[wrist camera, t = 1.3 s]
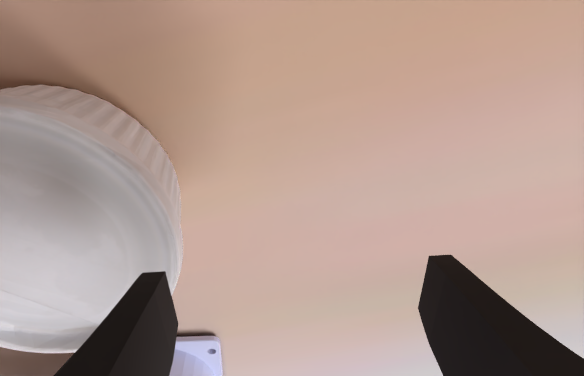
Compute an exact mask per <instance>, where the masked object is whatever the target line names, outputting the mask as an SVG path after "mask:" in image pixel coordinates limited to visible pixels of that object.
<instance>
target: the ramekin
mask: <svg viewBox="0 0 584 376" xmlns="http://www.w3.org/2000/svg"><path fill="white" fill-rule="evenodd" d="M180 222H181V199H180V188H179V184H178V178H177V175H176V173H175V171H174V167H173V164H172V163H171V161H170V159H169V157H168V155H167V153H166V152H165V151H164V149H163V148H162V147H161V145H160V143H159V142H158V140H157V139H155V138H154V137H153V136H152V134H151V133H150V132H149V131H148V130H147V129H146V128H145V127H143V126H142V125H141V124H140V123H139V122H138V121H137V120H136V119H135V118H133V117H131V116H129V115H128V114H127V113H125V112H124V111H123V110H121V109H119V108H117V107H116V106H114V105H112V104H111V103H110V102H108V101H105V100H103V99H100V98H98V97H96V96H94V95H91V94H86V93H83V92H81V91H79V90H76V89H67V88H64V87H61V86H47V85H34V86H30V85H24V86H18V87H14V88H5V89H1V90H0V347H3V348H7V349H13V350H18V351H25V352H35V353H75V352H76V351H77V350H78V349H79V348H80V347H81V346H82V344H83V343H84V342H85V341H86V340H87V339H88V338H89V336H90V335H91V334H92V333H93V332H94V331H95V329H96V328H97V327H98V326H99V325H100V324H101V322H102V321H103V320H104V319H105V318H106V316H107V315H108V314H109V313H110V312H111V310H112V309H113V308H114V307H115V305H116V304H117V303H118V302H119V301H120V299H121V298H122V297H123V296H124V294H125V293H126V292H127V290H128V289H129V288H130V287H131V285H132V284H133V283H134V282H135V280H136V279H137V278H138V277H139V276H140V275H141V274H142V273H145V272H162V271H165V272H166V276H167V280H168V284H169V288H170V292H171V296H172V294H173V292H174V289H175V287H176V284H177V281H178V278H179V275H180V271H181V266H182V260H183V237H182V230H181V226H180Z"/></svg>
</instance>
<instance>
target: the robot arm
mask: <svg viewBox="0 0 584 376" xmlns="http://www.w3.org/2000/svg"><path fill="white" fill-rule="evenodd" d="M418 309H419V313H420V316H421V319H422V323H423V326H424V329H425V332H426V335H427V339H428V342H429V344H430V347H431V349H432V351H433V353H434V356H435V358H436V360H437V362H438V365H439V367H440V369H441V371H442V374H443V376H584V359H583V358H582V357H580V356H579V355H577V354H576V353H574V352H573V351H571V350H570V349H568V348H567V347H566V346H564V345H563V344H561V343H560V342H559V341H557V340H556V339H554V338H553V337H552V336H550V335H549V334H548V333H546V332H545V331H544V330H542V329H541V328H540V327H538V326H537V325H536V324H534V323H533V322H532V321H530V320H529V319H528V318H526V317H525V316H524V315H523V314H521V313H520V312H519V311H518V310H516V309H515V308H514V307H513V306H511V305H510V304H509V303H508V302H506V301H505V300H504V299H503V298H502V297H500V296H499V295H498V294H497V293H496V292H494V291H493V290H492V289H491V288H490V287H488V286H487V285H486V284H485V283H484V282H483V281H481V280H480V279H479V278H478V277H477V276H475V275H474V274H473V273H472V272H471V271H470V270H468V269H467V268H466V267H465V266H464V265H463V264H461V263H460V262H459V261H458V260H457V259H455V258H454V257H453V256H452V255H438V256H429V259H428V264H427V268H426V273H425V278H424V283H423V287H422V292H421V297H420V301H419V306H418ZM177 329H178V321H177V317H176V312H175V308H174V304H173V300H172V296H171V292H170V288H169V284H168V280H167V276H166V272H165V271H162V272H145V273H142V274H141V275H140V276H139V277H138V278H137V279H136V280H135V282H134V283H133V284H132V285H131V287H130V288H129V289H128V290H127V292H126V293H125V294H124V296H123V297H122V298H121V299H120V301H119V302H118V303H117V304H116V305H115V307H114V308H113V309H112V310H111V312H110V313H109V314H108V315H107V316H106V318H105V319H104V320H103V321H102V322H101V324H100V325H99V326H98V327H97V328H96V329H95V331H94V332H93V333H92V334H91V335H90V336H89V338H88V339H87V340H86V341H85V342H84V343H83V344H82V346H81V347H80V348H79V349H78V350H77V351H76V352H75V353H74V354H73V355H72V356H71V358H70V359H69V360H68V361H67V362H66V363H65V364H64V365H63V366H62V367H61V368H60V369H59V370H58V372H57V373H56V374H55V375H54V376H223V368H222V357H221V346H220V340H219V338H218V337H216V336H188V337H177Z"/></svg>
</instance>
